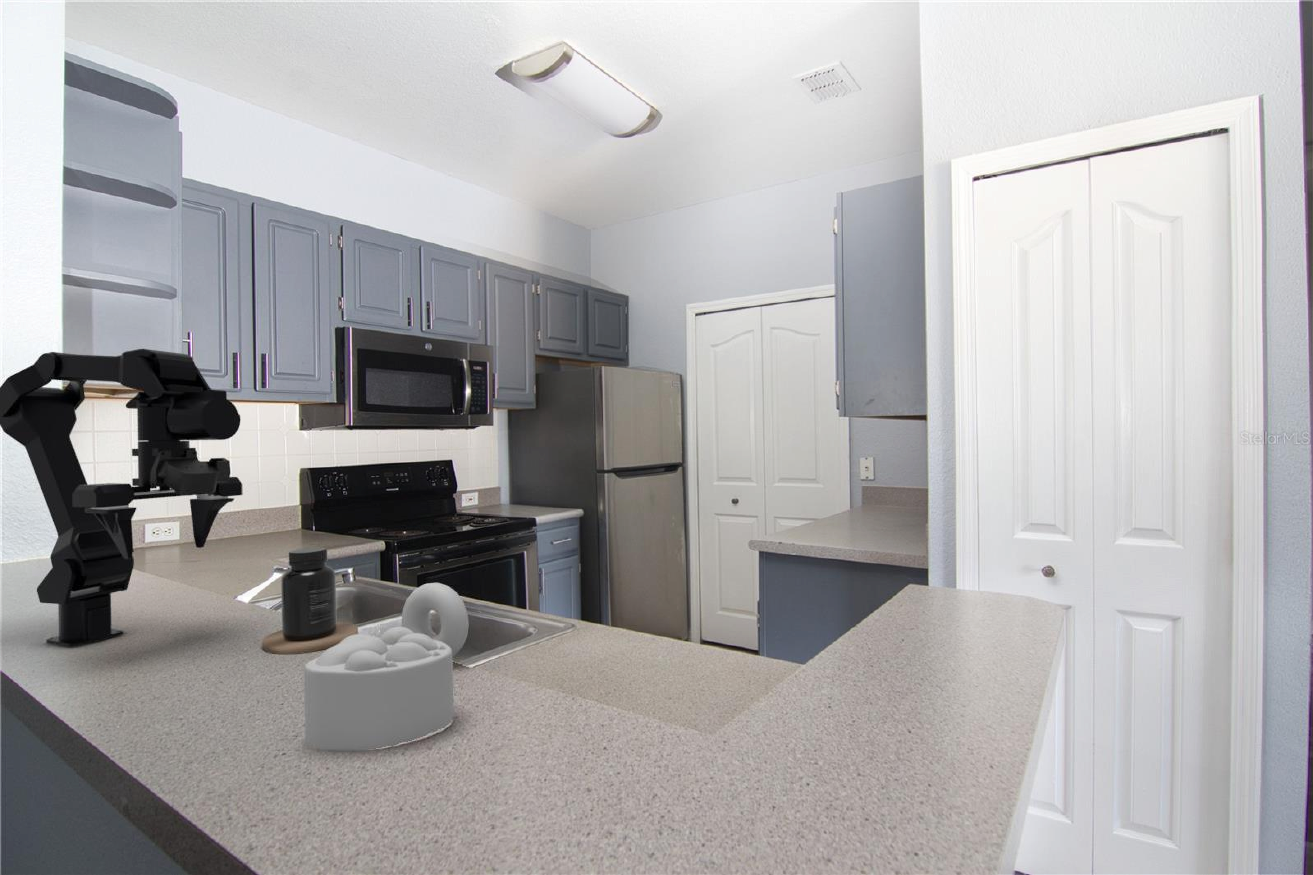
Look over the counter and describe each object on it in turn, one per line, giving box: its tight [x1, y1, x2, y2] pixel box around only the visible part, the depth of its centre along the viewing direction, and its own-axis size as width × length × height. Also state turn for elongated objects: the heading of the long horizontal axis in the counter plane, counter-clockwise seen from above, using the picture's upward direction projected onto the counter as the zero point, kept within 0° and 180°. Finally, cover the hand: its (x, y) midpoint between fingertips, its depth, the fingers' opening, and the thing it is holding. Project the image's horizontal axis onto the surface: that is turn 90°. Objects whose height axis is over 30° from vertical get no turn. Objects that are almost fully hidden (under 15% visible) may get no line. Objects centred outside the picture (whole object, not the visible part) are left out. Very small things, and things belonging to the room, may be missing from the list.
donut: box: [401, 582, 470, 658], centre depth 81 cm, size 10×3×10 cm, turn 65°
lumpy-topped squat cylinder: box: [303, 626, 454, 752], centre depth 63 cm, size 10×13×9 cm
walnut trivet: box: [261, 621, 359, 655], centre depth 91 cm, size 12×12×1 cm
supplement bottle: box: [280, 547, 338, 641], centre depth 91 cm, size 7×7×12 cm
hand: (165, 552), depth 89 cm, fingers open, 9 cm apart
